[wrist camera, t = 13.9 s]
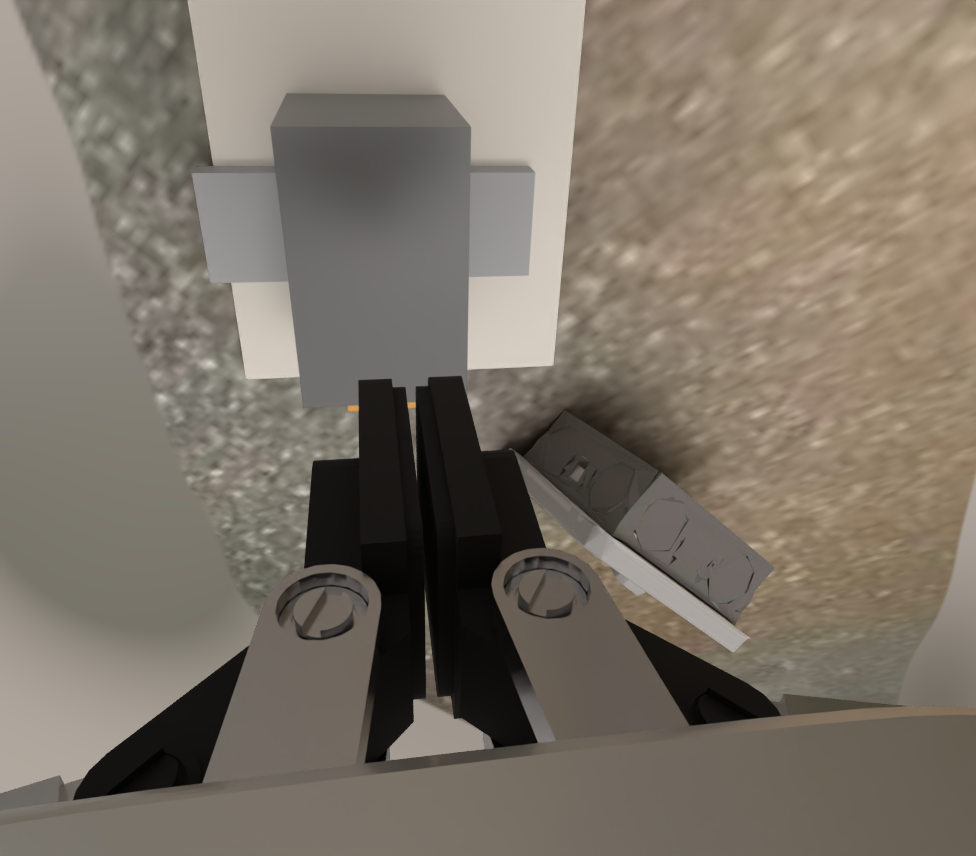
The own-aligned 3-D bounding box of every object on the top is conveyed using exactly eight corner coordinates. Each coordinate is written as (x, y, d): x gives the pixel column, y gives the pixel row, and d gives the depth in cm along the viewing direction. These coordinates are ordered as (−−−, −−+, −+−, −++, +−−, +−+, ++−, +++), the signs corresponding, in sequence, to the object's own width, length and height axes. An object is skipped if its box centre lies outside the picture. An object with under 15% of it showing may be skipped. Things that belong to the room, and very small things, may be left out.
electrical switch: (491, 455, 33) (555, 586, 25) (570, 371, 32) (663, 480, 24) (620, 548, 38) (709, 686, 30) (693, 477, 37) (806, 599, 29)
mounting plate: (609, -404, 19) (636, -444, 18) (546, 353, 31) (559, 377, 29) (102, -468, 17) (74, -520, 16) (236, 365, 29) (229, 392, 27)
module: (444, 94, 24) (471, 127, 19) (445, 337, 28) (466, 416, 23) (286, 93, 23) (270, 126, 18) (312, 342, 28) (305, 425, 23)
